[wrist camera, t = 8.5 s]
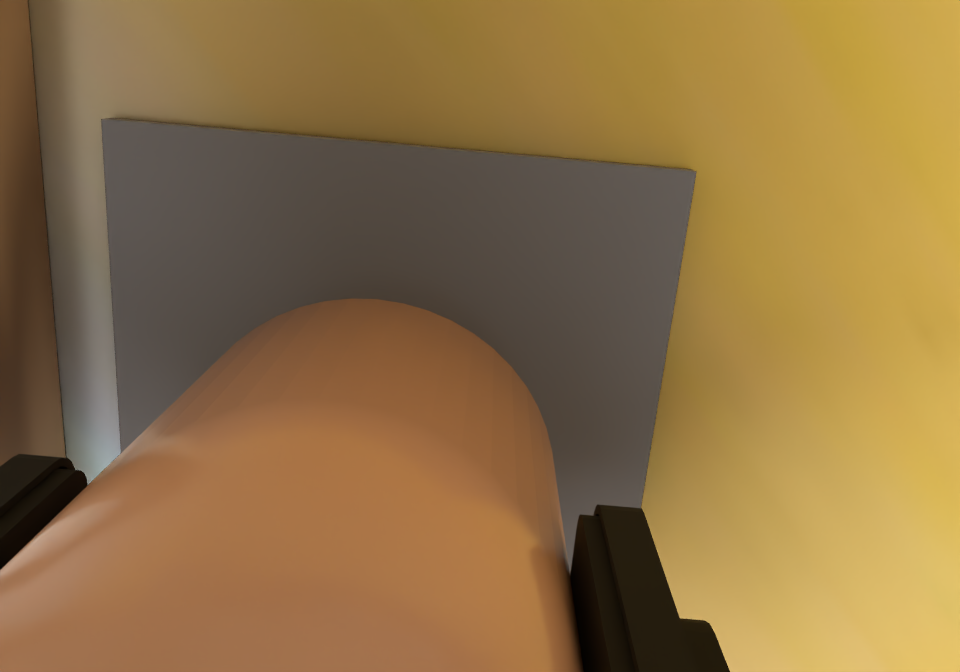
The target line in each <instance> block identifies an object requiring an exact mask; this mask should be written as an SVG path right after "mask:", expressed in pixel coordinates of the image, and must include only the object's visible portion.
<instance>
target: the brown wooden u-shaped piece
mask: <svg viewBox="0 0 960 672" xmlns="http://www.w3.org/2000/svg"><path fill="white" fill-rule="evenodd" d="M18 454H29V455H40V456H52V457H63V458H66V455H65V443H64V431H63V419H62V407H61V395H60V383H59V371H58V359H57V347H56V335H55V323H54V311H53V299H52V287H51V275H50V263H49V251H48V239H47V227H46V215H45V203H44V190H43V178H42V166H41V154H40V142H39V130H38V118H37V106H36V94H35V82H34V70H33V58H32V46H31V34H30V22H29V10H28V0H0V466H1V465H3V464H4V463H5V462H7V461H8V460H9V459H11V458H12V457H14V456H16V455H18Z"/></svg>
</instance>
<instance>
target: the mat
mask: <svg viewBox="0 0 960 672" xmlns="http://www.w3.org/2000/svg"><path fill="white" fill-rule="evenodd" d="M101 124H102V140H103V157H104V174H105V191H106V208H107V225H108V241H109V258H110V275H111V292H112V309H113V326H114V343H115V359H116V376H117V393H118V410H119V427H120V444H121V453H122V452H123V451H124V450H125V449H126V448H127V447H128V446H129V445H130V444H131V443H132V442H133V441H134V440H135V439H136V438H137V437H138V436H139V435H140V434H142V433H143V432H144V431H145V430H146V429H147V428H148V427H149V426H150V425H151V424H152V423H153V422H154V421H155V420H156V419H157V418H158V417H159V416H160V415H161V414H162V413H163V412H164V411H165V410H166V409H167V408H168V407H170V406H171V405H172V404H173V403H174V402H175V401H176V400H177V399H178V398H179V397H180V396H181V395H182V394H183V393H184V392H185V391H186V390H187V389H188V388H189V387H190V386H191V385H192V384H193V383H194V382H195V381H196V380H197V379H199V378H200V377H201V376H202V375H203V374H204V373H205V372H206V371H207V370H208V369H209V368H210V367H211V366H212V365H213V364H214V363H215V362H216V361H217V360H218V359H219V358H220V357H221V356H222V355H223V354H224V353H225V352H226V351H228V350H229V349H230V348H231V347H232V346H233V345H234V344H235V343H236V342H237V341H238V340H240V339H241V338H242V337H244V336H245V335H246V334H248V333H249V332H250V331H252V330H253V329H254V328H256V327H258V326H259V325H261V324H263V323H265V322H267V321H269V320H270V319H272V318H274V317H276V316H278V315H281V314H283V313H286V312H288V311H291V310H294V309H296V308H299V307H302V306H307V305H311V304H315V303H319V302H323V301H331V300H341V299H379V300H385V301H392V302H398V303H404V304H407V305H411V306H414V307H418V308H421V309H425V310H428V311H430V312H433V313H435V314H437V315H440V316H442V317H445V318H447V319H449V320H452V321H453V322H455V323H457V324H458V325H460V326H462V327H464V328H465V329H467V330H469V331H470V332H472V333H474V334H475V335H476V336H478V337H479V338H480V339H482V340H483V341H484V342H486V343H487V344H488V345H489V346H491V347H492V348H493V349H494V350H495V351H496V352H497V353H498V354H499V355H500V356H501V357H502V358H503V359H504V360H505V361H506V362H507V363H508V364H509V365H510V366H511V367H512V368H513V369H514V370H515V372H516V373H517V374H518V376H519V377H520V378H521V380H522V381H523V382H524V384H525V385H526V386H527V388H528V390H529V392H530V393H531V395H532V397H533V399H534V400H535V402H536V404H537V406H538V408H539V410H540V413H541V415H542V418H543V420H544V423H545V425H546V428H547V432H548V436H549V440H550V444H551V448H552V454H553V461H554V468H555V475H556V482H557V489H558V496H559V503H560V509H561V516H562V523H563V530H564V537H565V544H566V551H567V558H568V565H569V572H571V565H572V557H573V550H574V543H575V536H576V528H577V522H578V518H579V515H580V514H582V515H594V511H595V507H596V506H597V504H600V505H611V506H622V507H634V508H641V504H642V498H643V492H644V486H645V479H646V473H647V467H648V461H649V455H650V449H651V443H652V437H653V431H654V425H655V419H656V413H657V407H658V401H659V395H660V389H661V383H662V377H663V371H664V365H665V359H666V353H667V347H668V341H669V335H670V329H671V322H672V316H673V310H674V304H675V298H676V292H677V286H678V280H679V274H680V268H681V262H682V256H683V250H684V244H685V238H686V232H687V226H688V220H689V214H690V208H691V202H692V196H693V190H694V184H695V178H696V171H694V170H691V169H682V168H670V167H659V166H648V165H636V164H625V163H614V162H603V161H591V160H580V159H569V158H557V157H546V156H535V155H524V154H512V153H501V152H490V151H478V150H467V149H456V148H444V147H433V146H422V145H411V144H399V143H388V142H377V141H365V140H354V139H343V138H332V137H320V136H309V135H298V134H286V133H275V132H264V131H253V130H241V129H230V128H219V127H207V126H196V125H185V124H174V123H162V122H151V121H140V120H128V119H117V118H108V119H101Z"/></svg>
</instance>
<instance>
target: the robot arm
mask: <svg viewBox="0 0 960 672" xmlns="http://www.w3.org/2000/svg"><path fill="white" fill-rule="evenodd" d="M86 487H87V479H86V476H85V474H84V473H83V472H82V471H79V470H75V468H74V466H73V464H72V462H71V461H70V460H69V459H68V458H63V457H52V456H40V455H29V454H18V455H16V456H14V457H12V458H11V459H9V460H8V461H7V462H5V463H4V464H3V465H1V466H0V570H1V569H2V568H3V567H4V566H5V565H6V564H7V563H8V562H9V561H10V560H11V559H12V558H13V557H14V556H15V555H16V554H17V553H18V552H19V551H20V550H21V549H22V548H23V547H24V546H25V545H27V544H28V543H29V542H30V541H31V540H32V539H33V538H34V537H35V536H36V535H37V534H38V533H39V532H40V531H41V530H42V529H43V528H44V527H45V526H46V525H47V524H48V523H49V522H50V521H51V520H52V519H53V518H54V517H56V516H57V515H58V514H59V513H60V512H61V511H62V510H63V509H64V508H65V507H66V506H67V505H68V504H69V503H70V502H71V501H72V500H73V499H74V498H75V497H76V496H77V495H78V494H79V493H80V492H81V491H82V490H84V489H85V488H86ZM570 579H571V586H572V593H573V600H574V607H575V613H576V620H577V627H578V634H579V641H580V648H581V655H582V662H583V669H584V672H730V671H729V668H728V666H727V663H726V661H725V658H724V656H723V653H722V650H721V648H720V645H719V643H718V640H717V638H716V635H715V633H714V631H713V629H712V627H711V625H710V624H709V623H707V622H706V621H703V620H692V619H680V618H679V615H678V612H677V609H676V606H675V603H674V600H673V597H672V595H671V592H670V589H669V586H668V583H667V580H666V577H665V574H664V571H663V568H662V565H661V562H660V559H659V556H658V553H657V550H656V547H655V544H654V541H653V538H652V535H651V532H650V529H649V526H648V523H647V520H646V518H645V515H644V512H643V510H642V508H634V507H622V506H611V505H600V504H597V506H596V507H595V511H594V515H582V514H580V515H579V518H578V522H577V528H576V536H575V543H574V550H573V557H572V565H571V572H570Z"/></svg>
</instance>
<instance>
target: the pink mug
mask: <svg viewBox="0 0 960 672" xmlns="http://www.w3.org/2000/svg"><path fill="white" fill-rule="evenodd" d="M0 672H584V669H583V662H582V655H581V648H580V641H579V634H578V627H577V620H576V613H575V607H574V600H573V593H572V586H571V579H570V572H569V565H568V558H567V551H566V544H565V537H564V530H563V523H562V516H561V509H560V503H559V496H558V489H557V482H556V475H555V468H554V461H553V454H552V448H551V444H550V440H549V436H548V432H547V428H546V425H545V423H544V420H543V418H542V415H541V413H540V410H539V408H538V406H537V404H536V402H535V400H534V399H533V397H532V395H531V393H530V392H529V390H528V388H527V386H526V385H525V384H524V382H523V381H522V380H521V378H520V377H519V376H518V374H517V373H516V372H515V370H514V369H513V368H512V367H511V366H510V365H509V364H508V363H507V362H506V361H505V360H504V359H503V358H502V357H501V356H500V355H499V354H498V353H497V352H496V351H495V350H494V349H493V348H492V347H491V346H489V345H488V344H487V343H486V342H484V341H483V340H482V339H480V338H479V337H478V336H476V335H475V334H474V333H472V332H470V331H469V330H467V329H465V328H464V327H462V326H460V325H458V324H457V323H455V322H453V321H452V320H449V319H447V318H445V317H442V316H440V315H437V314H435V313H433V312H430V311H428V310H425V309H421V308H418V307H414V306H411V305H407V304H404V303H398V302H392V301H385V300H379V299H341V300H331V301H323V302H319V303H315V304H311V305H307V306H302V307H299V308H296V309H294V310H291V311H288V312H286V313H283V314H281V315H278V316H276V317H274V318H272V319H270V320H269V321H267V322H265V323H263V324H261V325H259V326H258V327H256V328H254V329H253V330H252V331H250V332H249V333H248V334H246V335H245V336H244V337H242V338H241V339H240V340H238V341H237V342H236V343H235V344H234V345H233V346H232V347H231V348H230V349H229V350H228V351H226V352H225V353H224V354H223V355H222V356H221V357H220V358H219V359H218V360H217V361H216V362H215V363H214V364H213V365H212V366H211V367H210V368H209V369H208V370H207V371H206V372H205V373H204V374H203V375H202V376H201V377H200V378H199V379H197V380H196V381H195V382H194V383H193V384H192V385H191V386H190V387H189V388H188V389H187V390H186V391H185V392H184V393H183V394H182V395H181V396H180V397H179V398H178V399H177V400H176V401H175V402H174V403H173V404H172V405H171V406H170V407H168V408H167V409H166V410H165V411H164V412H163V413H162V414H161V415H160V416H159V417H158V418H157V419H156V420H155V421H154V422H153V423H152V424H151V425H150V426H149V427H148V428H147V429H146V430H145V431H144V432H143V433H142V434H140V435H139V436H138V437H137V438H136V439H135V440H134V441H133V442H132V443H131V444H130V445H129V446H128V447H127V448H126V449H125V450H124V451H123V452H122V453H121V454H120V455H119V456H118V457H117V458H116V459H115V460H114V461H113V462H111V463H110V464H109V465H108V466H107V467H106V468H105V469H104V470H103V471H102V472H101V473H100V474H99V475H98V476H97V477H96V478H95V479H94V480H93V481H92V482H91V483H90V484H89V485H88V486H87V487H86V488H85V489H84V490H82V491H81V492H80V493H79V494H78V495H77V496H76V497H75V498H74V499H73V500H72V501H71V502H70V503H69V504H68V505H67V506H66V507H65V508H64V509H63V510H62V511H61V512H60V513H59V514H58V515H57V516H56V517H54V518H53V519H52V520H51V521H50V522H49V523H48V524H47V525H46V526H45V527H44V528H43V529H42V530H41V531H40V532H39V533H38V534H37V535H36V536H35V537H34V538H33V539H32V540H31V541H30V542H29V543H28V544H27V545H25V546H24V547H23V548H22V549H21V550H20V551H19V552H18V553H17V554H16V555H15V556H14V557H13V558H12V559H11V560H10V561H9V562H8V563H7V564H6V565H5V566H4V567H3V568H2V569H1V570H0Z"/></svg>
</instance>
